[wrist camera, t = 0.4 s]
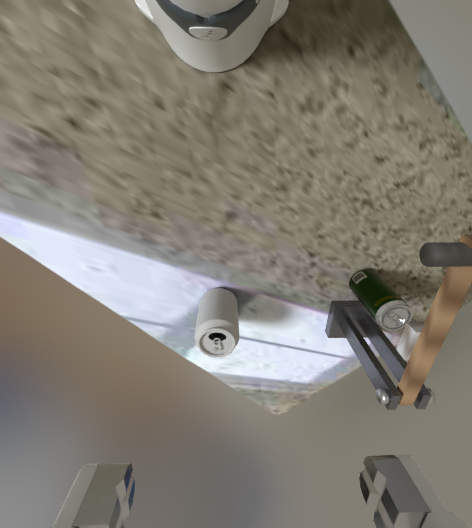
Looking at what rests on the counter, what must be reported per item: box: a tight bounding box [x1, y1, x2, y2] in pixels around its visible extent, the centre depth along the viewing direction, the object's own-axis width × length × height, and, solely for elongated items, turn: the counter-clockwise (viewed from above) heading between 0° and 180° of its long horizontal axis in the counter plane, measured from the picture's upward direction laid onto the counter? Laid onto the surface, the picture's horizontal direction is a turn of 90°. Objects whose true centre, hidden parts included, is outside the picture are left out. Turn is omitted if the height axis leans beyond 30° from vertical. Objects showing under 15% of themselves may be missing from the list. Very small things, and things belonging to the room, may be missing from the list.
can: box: [195, 288, 239, 357], centre depth 47 cm, size 8×8×12 cm
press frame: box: [325, 301, 435, 410], centre depth 47 cm, size 8×10×20 cm
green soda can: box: [349, 269, 412, 331], centre depth 46 cm, size 5×5×12 cm
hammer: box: [396, 235, 472, 405], centre depth 34 cm, size 26×9×4 cm, turn 179°
